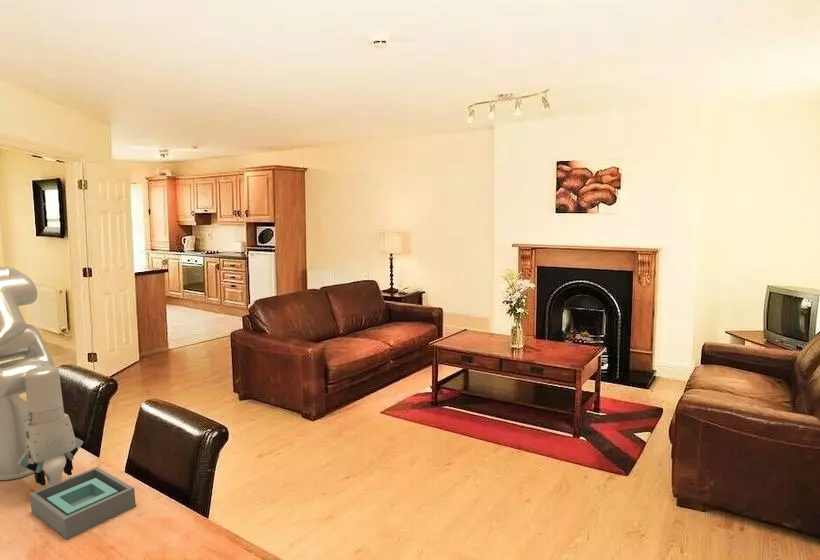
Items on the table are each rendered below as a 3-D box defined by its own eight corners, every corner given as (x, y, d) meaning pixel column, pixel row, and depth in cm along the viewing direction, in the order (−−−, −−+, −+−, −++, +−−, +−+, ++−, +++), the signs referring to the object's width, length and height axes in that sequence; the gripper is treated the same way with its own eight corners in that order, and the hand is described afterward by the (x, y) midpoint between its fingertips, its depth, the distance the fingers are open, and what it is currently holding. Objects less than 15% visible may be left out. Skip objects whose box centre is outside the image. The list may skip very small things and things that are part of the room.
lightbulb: (56, 498, 141) (51, 458, 139) (37, 495, 142) (31, 456, 140) (75, 485, 147) (70, 447, 145) (56, 483, 148) (50, 445, 146)
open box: (135, 506, 136) (134, 487, 136) (66, 539, 124) (64, 519, 123) (98, 484, 147) (96, 466, 146) (31, 512, 134) (29, 493, 134)
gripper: (14, 429, 132) (23, 498, 135) (88, 406, 146) (95, 469, 149) (2, 422, 136) (11, 489, 139) (75, 400, 150) (82, 461, 153)
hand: (55, 478), depth 144 cm, fingers closed on lightbulb, 5 cm apart
